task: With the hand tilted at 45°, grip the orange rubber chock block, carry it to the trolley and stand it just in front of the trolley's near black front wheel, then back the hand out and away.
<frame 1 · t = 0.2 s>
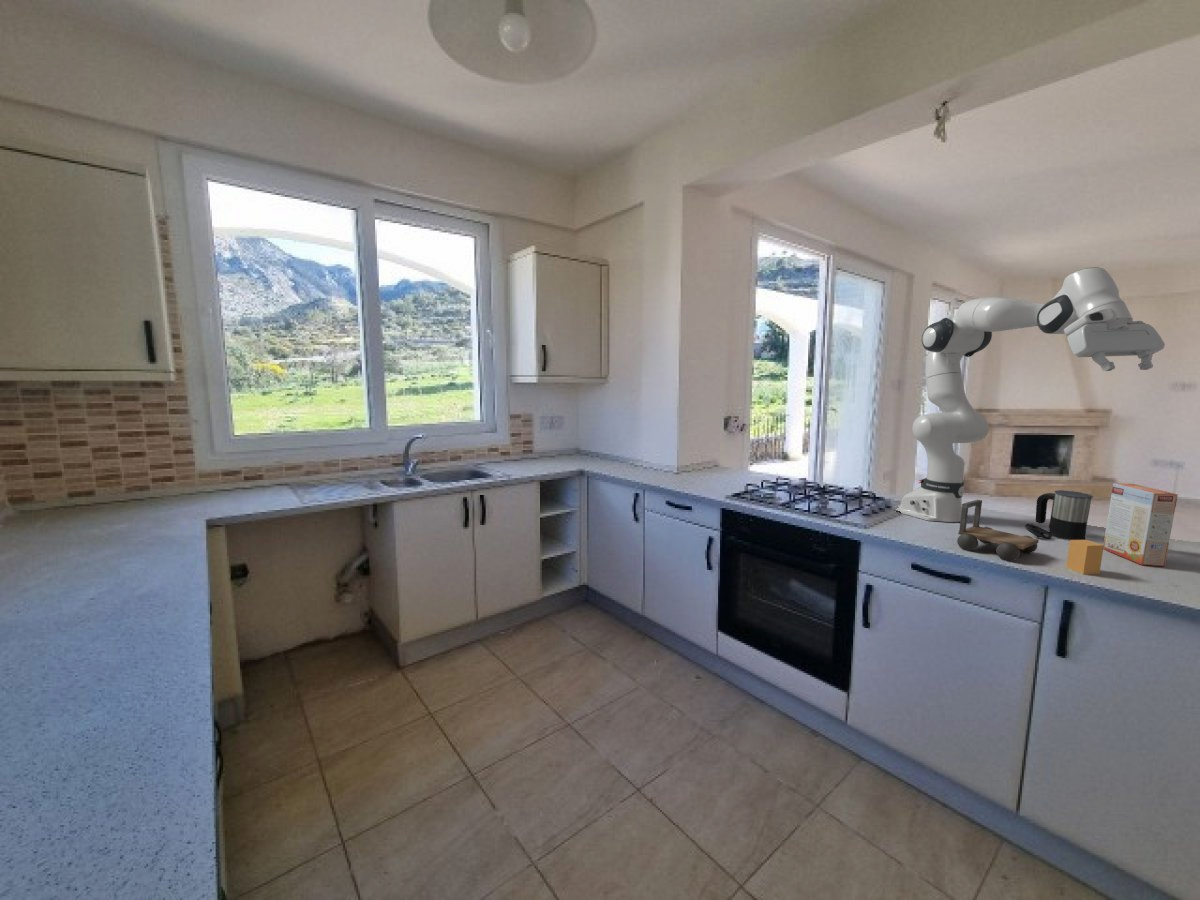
hand: (1128, 369, 122), 54 cm above the countertop, tool tilted 30°, fingers open, 8 cm apart
milk frother: (1054, 537, 163), on the countertop
chock: (1082, 571, 134), on the countertop
cracker box: (1132, 558, 144), on the countertop
trolley: (995, 551, 149), on the countertop
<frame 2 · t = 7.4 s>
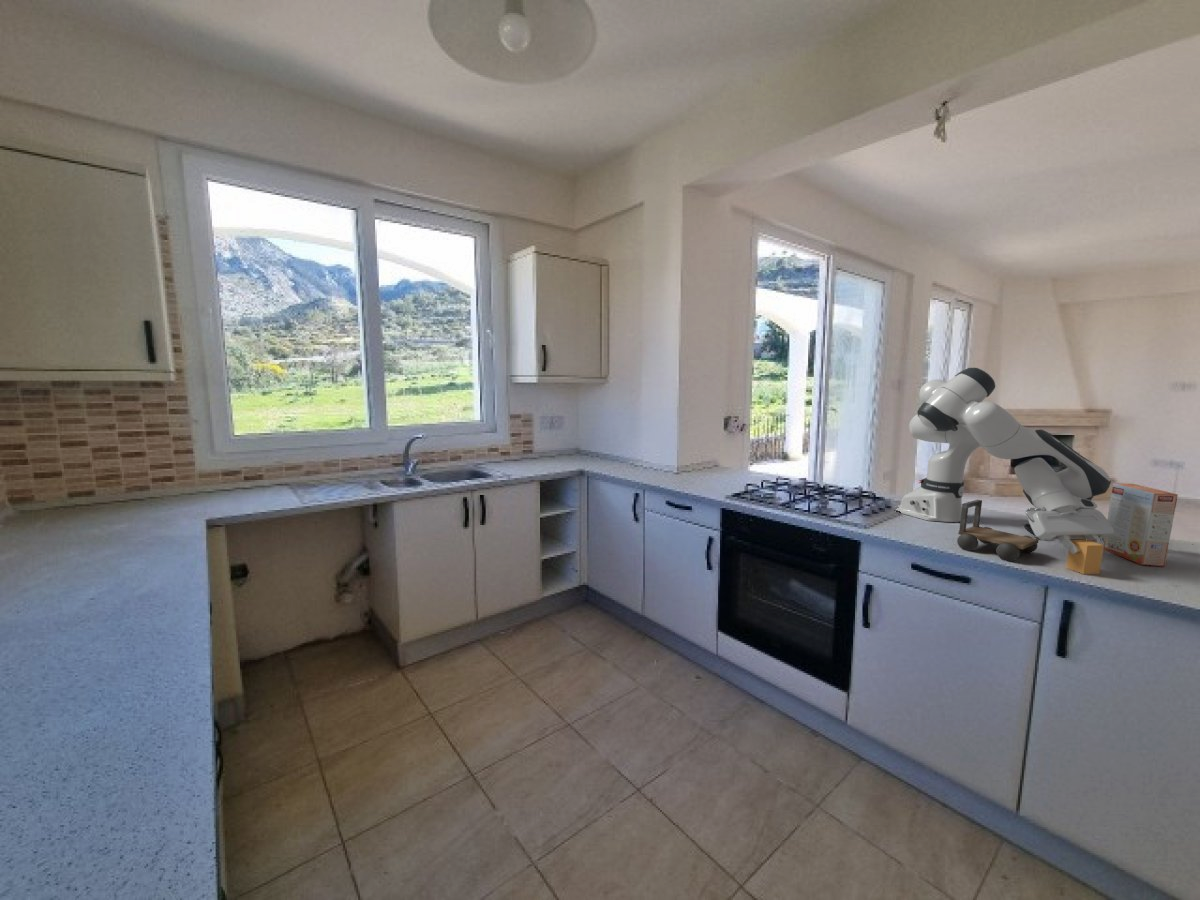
hand: (1087, 552, 133), 5 cm above the countertop, tool tilted 45°, fingers closed on chock, 5 cm apart
chock: (1082, 570, 134), on the countertop, touching gripper
everything else where it was.
when the fingers open (8 cm above the countertop, at t = 13.6 s): chock drops 3 cm, on the countertop.
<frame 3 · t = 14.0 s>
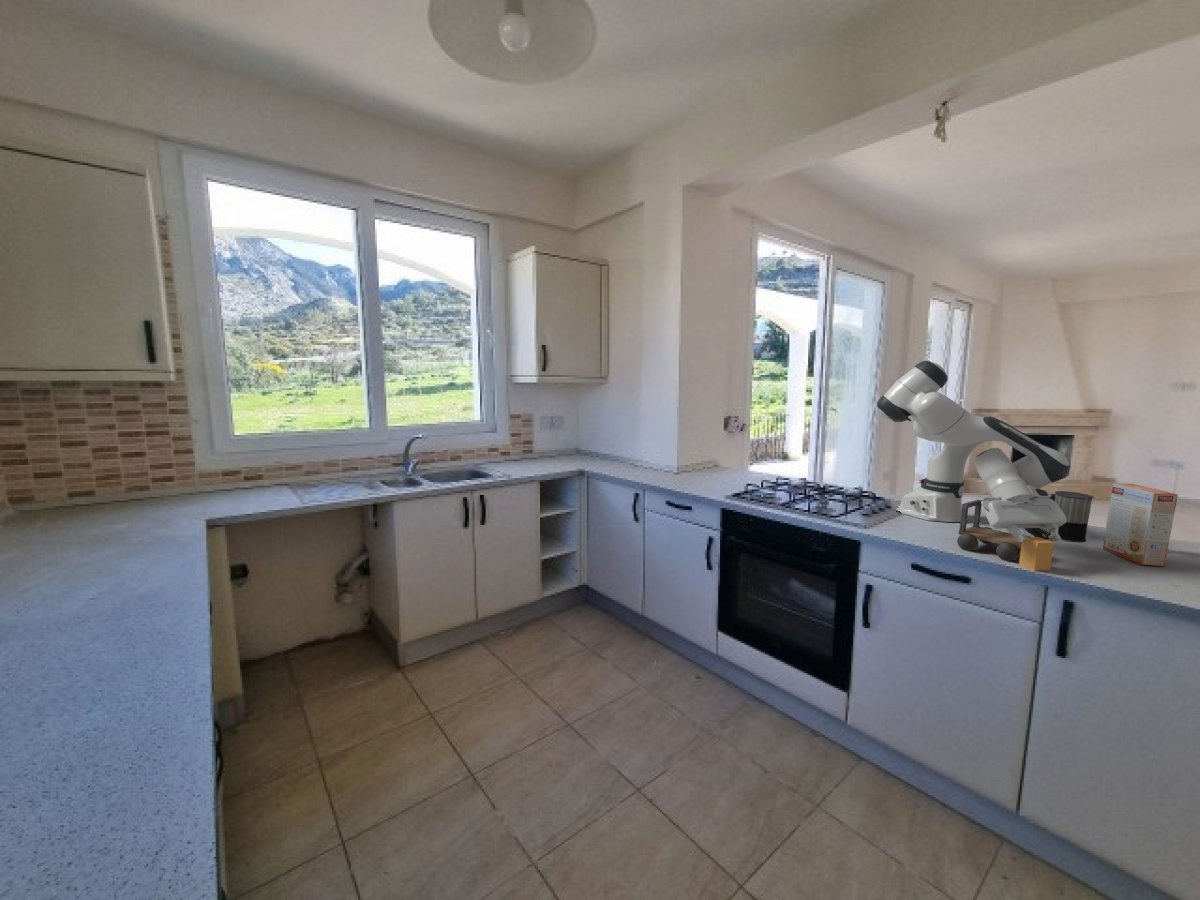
hand: (1040, 540, 135), 8 cm above the countertop, tool tilted 45°, fingers open, 8 cm apart
chock: (1034, 567, 136), on the countertop
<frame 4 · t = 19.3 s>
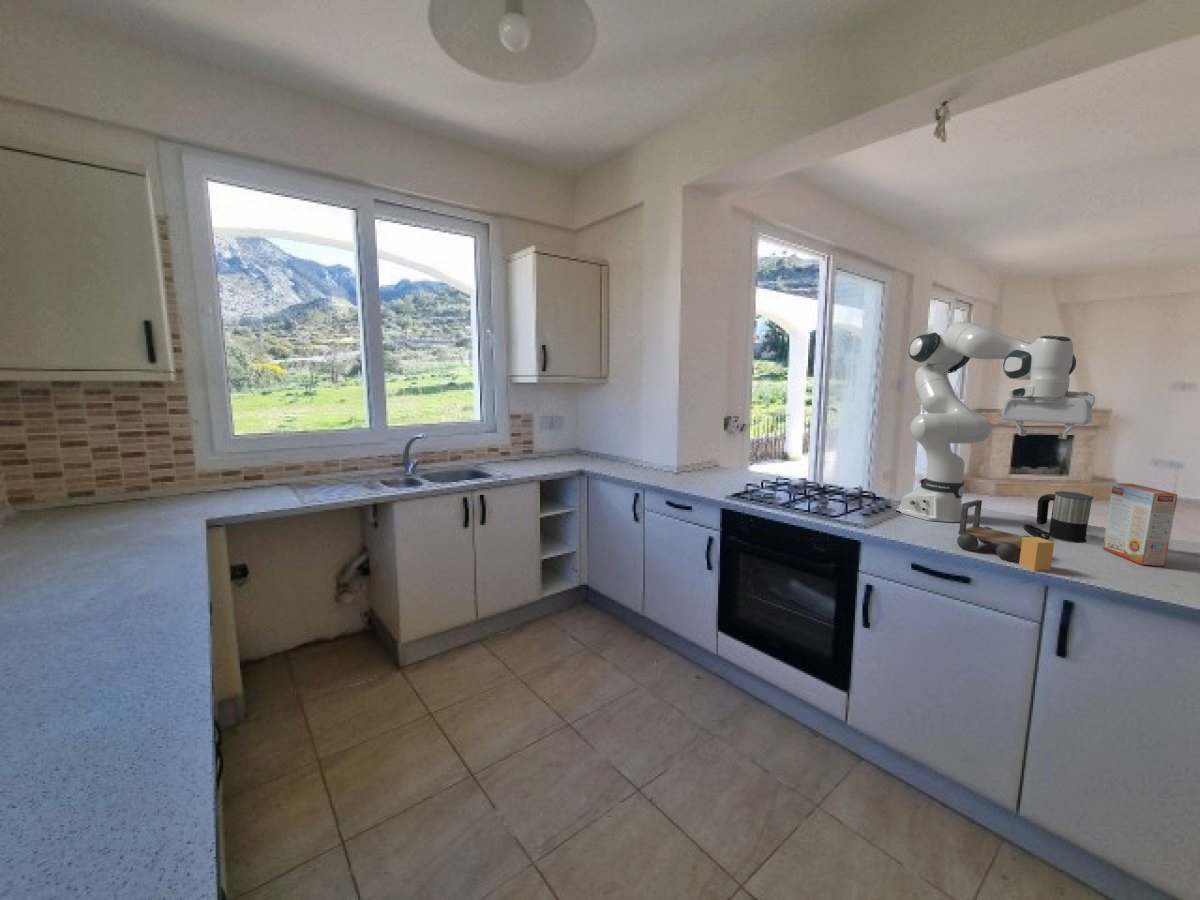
hand: (1041, 437, 149), 34 cm above the countertop, tool pointing down, fingers open, 8 cm apart
at the end: chock 0.7 cm from the target spot on the countertop beside the trolley, on the countertop; chock tilted 0°; the gripper is holding nothing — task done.
